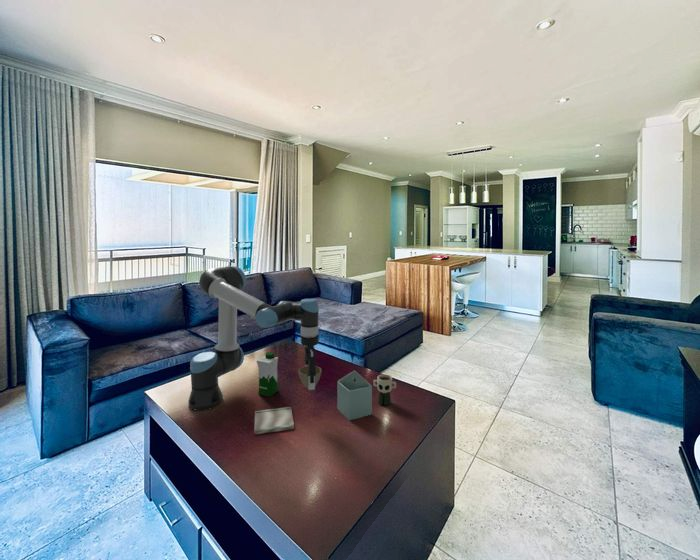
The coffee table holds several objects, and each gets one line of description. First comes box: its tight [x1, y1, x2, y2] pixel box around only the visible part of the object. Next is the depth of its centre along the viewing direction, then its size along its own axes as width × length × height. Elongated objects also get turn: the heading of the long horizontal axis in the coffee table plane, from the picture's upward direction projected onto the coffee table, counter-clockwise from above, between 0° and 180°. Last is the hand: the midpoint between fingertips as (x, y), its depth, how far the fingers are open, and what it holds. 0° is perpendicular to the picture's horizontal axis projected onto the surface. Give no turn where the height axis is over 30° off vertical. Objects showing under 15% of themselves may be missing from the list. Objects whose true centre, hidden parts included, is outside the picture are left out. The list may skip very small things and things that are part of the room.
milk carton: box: [256, 351, 279, 397], centre depth 168 cm, size 9×9×20 cm
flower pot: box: [298, 365, 322, 389], centre depth 145 cm, size 10×10×7 cm
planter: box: [336, 370, 373, 421], centre depth 147 cm, size 16×8×20 cm, turn 73°
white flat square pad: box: [253, 406, 295, 435], centre depth 144 cm, size 16×16×1 cm
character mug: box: [372, 373, 397, 406], centre depth 159 cm, size 11×7×13 cm, turn 77°
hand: (310, 383), depth 146 cm, fingers closed on flower pot, 10 cm apart
